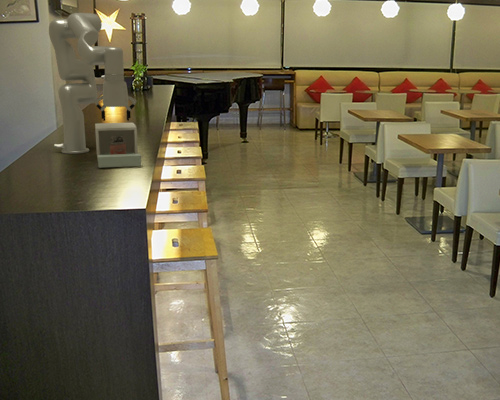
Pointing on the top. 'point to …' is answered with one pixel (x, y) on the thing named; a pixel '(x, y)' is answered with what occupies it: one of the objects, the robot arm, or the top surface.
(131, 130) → the cabinet
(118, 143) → the lighter
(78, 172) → the top surface
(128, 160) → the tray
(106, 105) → the robot arm
